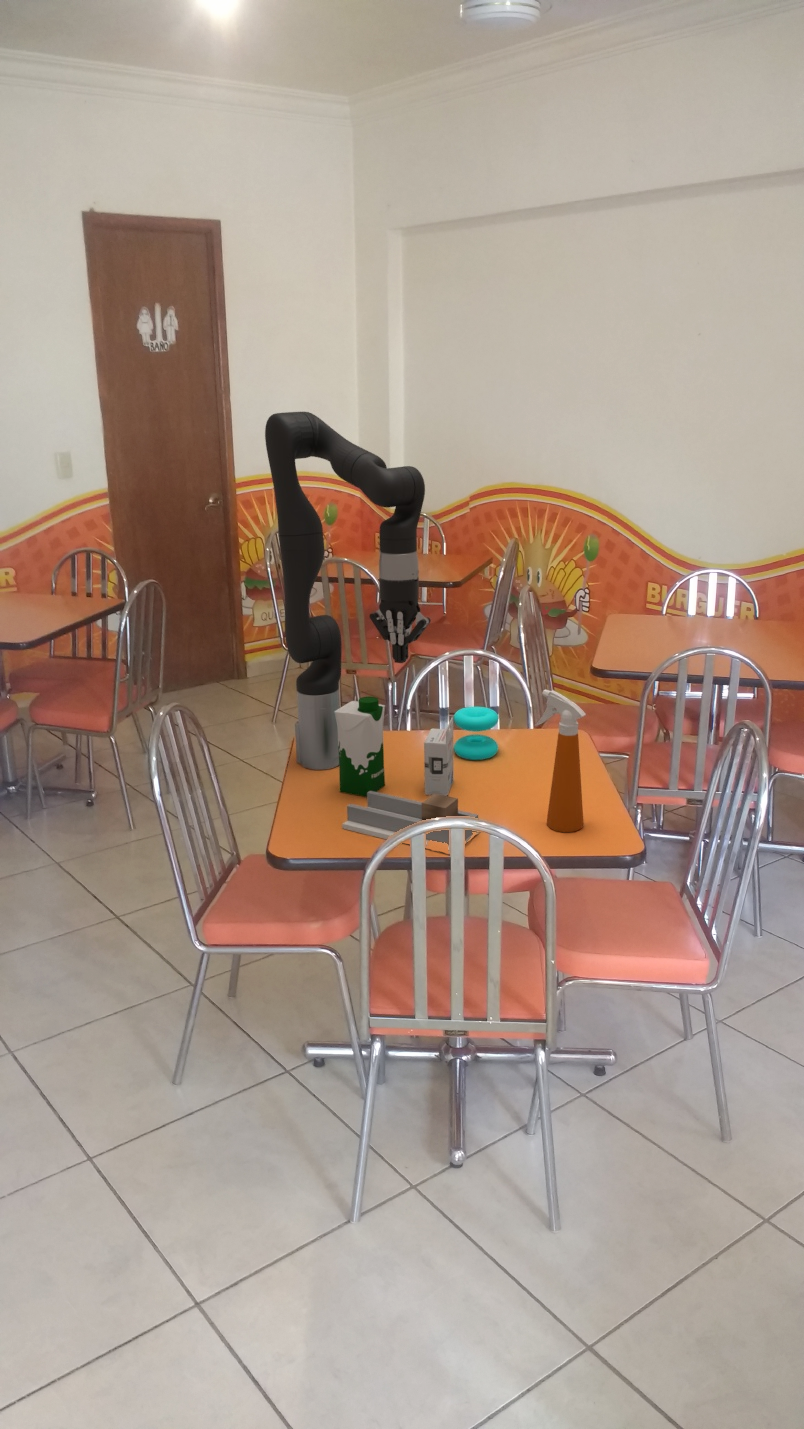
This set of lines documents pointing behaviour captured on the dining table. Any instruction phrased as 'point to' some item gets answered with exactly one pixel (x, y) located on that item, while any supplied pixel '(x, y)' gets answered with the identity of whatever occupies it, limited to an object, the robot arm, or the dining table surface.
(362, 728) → the milk carton
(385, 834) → the chute
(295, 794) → the dining table surface
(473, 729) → the donuts
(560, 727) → the spray bottle
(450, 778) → the ink box
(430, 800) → the block
